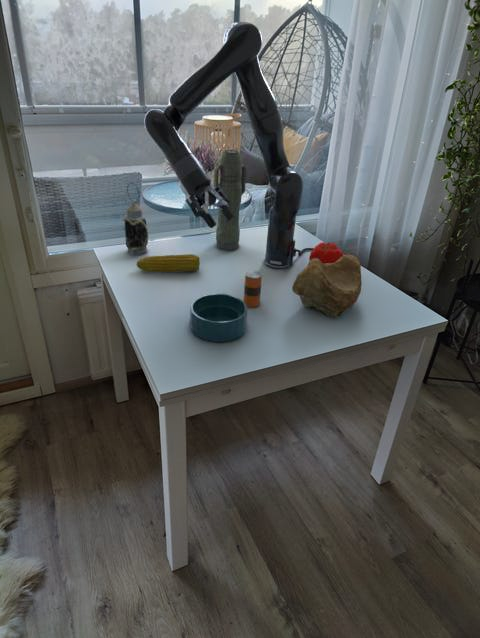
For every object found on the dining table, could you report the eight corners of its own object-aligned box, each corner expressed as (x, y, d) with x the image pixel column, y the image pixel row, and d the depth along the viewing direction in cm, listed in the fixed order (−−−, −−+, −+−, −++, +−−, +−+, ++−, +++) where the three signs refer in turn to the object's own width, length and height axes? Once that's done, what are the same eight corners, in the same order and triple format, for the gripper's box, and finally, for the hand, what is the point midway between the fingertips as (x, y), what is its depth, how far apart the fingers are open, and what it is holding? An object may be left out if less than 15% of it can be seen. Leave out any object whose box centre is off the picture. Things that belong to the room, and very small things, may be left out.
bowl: (237, 310, 130) (238, 291, 127) (252, 339, 118) (254, 319, 115) (186, 316, 126) (186, 296, 123) (196, 346, 114) (196, 325, 111)
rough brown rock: (316, 332, 124) (329, 287, 116) (282, 301, 135) (291, 258, 126) (374, 315, 136) (390, 272, 127) (338, 288, 146) (350, 247, 138)
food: (199, 267, 154) (199, 251, 151) (200, 274, 149) (200, 258, 146) (137, 267, 151) (136, 251, 148) (136, 275, 146) (135, 258, 143)
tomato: (307, 262, 163) (310, 238, 158) (340, 265, 162) (344, 241, 157) (308, 274, 154) (311, 250, 149) (343, 278, 153) (347, 253, 148)
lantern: (121, 250, 162) (115, 181, 149) (139, 245, 167) (135, 178, 154) (135, 258, 157) (130, 187, 144) (154, 252, 162) (150, 183, 149)
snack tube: (256, 298, 137) (259, 269, 132) (261, 306, 133) (264, 277, 128) (241, 300, 136) (243, 270, 131) (245, 308, 132) (248, 278, 127)
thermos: (246, 247, 171) (252, 152, 152) (220, 253, 165) (224, 155, 147) (233, 239, 177) (238, 147, 159) (208, 244, 171) (210, 149, 153)
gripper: (182, 171, 119) (215, 222, 120) (214, 162, 129) (244, 209, 130) (168, 187, 124) (200, 236, 125) (199, 177, 135) (228, 222, 136)
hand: (222, 222), depth 128 cm, fingers open, 8 cm apart
